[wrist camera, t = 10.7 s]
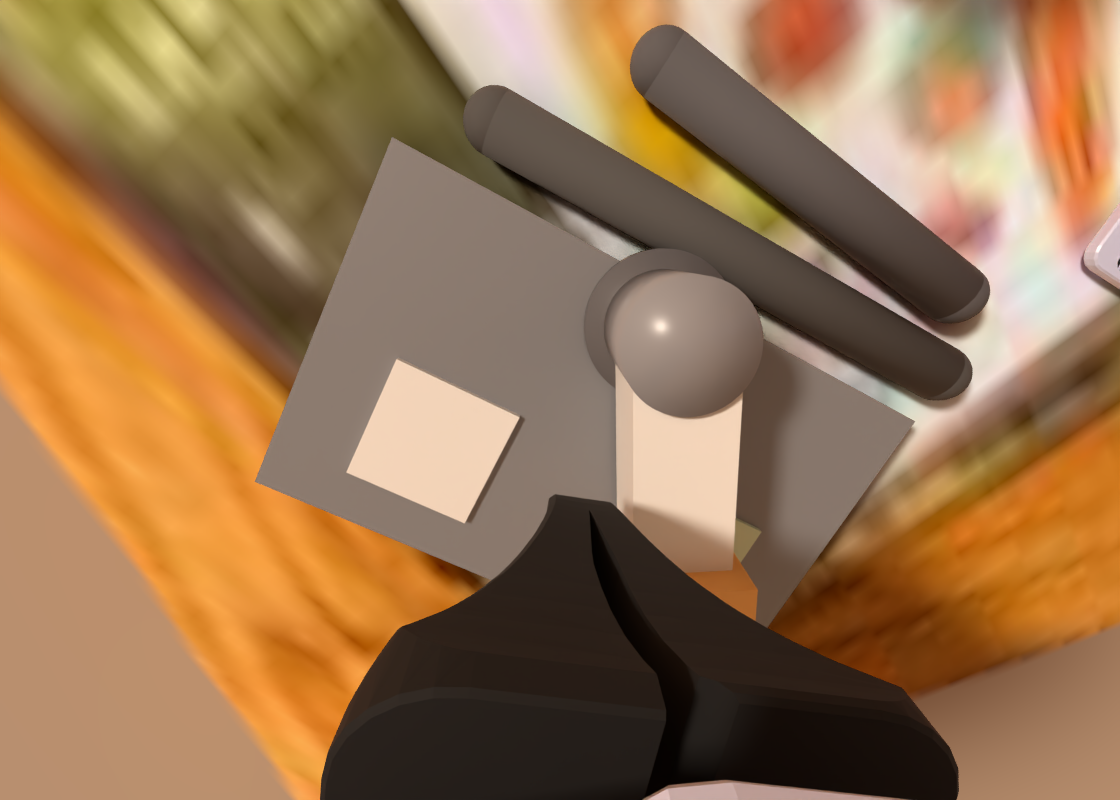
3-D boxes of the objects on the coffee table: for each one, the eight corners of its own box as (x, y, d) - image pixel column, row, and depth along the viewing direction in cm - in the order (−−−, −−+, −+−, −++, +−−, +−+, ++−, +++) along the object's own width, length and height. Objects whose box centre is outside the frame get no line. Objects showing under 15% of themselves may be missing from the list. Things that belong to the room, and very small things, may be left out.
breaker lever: (719, 266, 14) (780, 273, 10) (705, 602, 16) (749, 696, 13) (602, 271, 14) (624, 279, 10) (608, 607, 16) (626, 704, 13)
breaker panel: (908, 380, 16) (944, 394, 15) (718, 652, 19) (733, 686, 17) (419, 108, 14) (405, 92, 12) (274, 464, 16) (249, 486, 15)
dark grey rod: (955, 355, 16) (999, 366, 15) (923, 400, 17) (962, 416, 15) (483, 82, 14) (476, 62, 12) (457, 143, 14) (447, 130, 12)
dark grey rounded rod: (971, 283, 16) (1018, 287, 14) (932, 329, 16) (975, 338, 14) (649, 24, 13) (663, -4, 12) (613, 84, 14) (622, 64, 12)
